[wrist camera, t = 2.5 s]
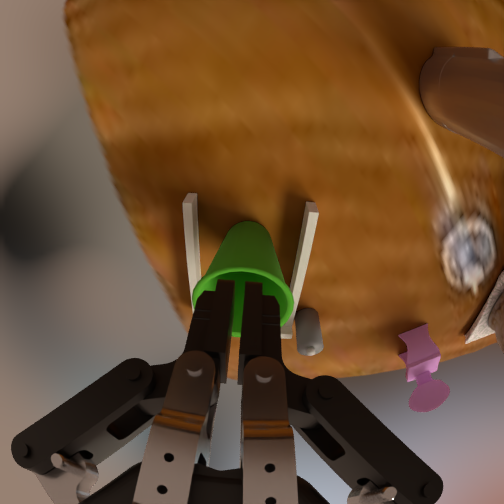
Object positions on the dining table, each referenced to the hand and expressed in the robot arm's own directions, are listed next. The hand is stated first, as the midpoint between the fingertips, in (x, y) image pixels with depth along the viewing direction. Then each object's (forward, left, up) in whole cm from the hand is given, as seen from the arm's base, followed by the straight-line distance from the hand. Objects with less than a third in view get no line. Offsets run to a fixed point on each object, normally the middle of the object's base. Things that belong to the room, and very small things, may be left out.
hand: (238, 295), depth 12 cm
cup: (+10, 0, -19) cm, 21 cm away
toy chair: (+30, +33, -19) cm, 48 cm away
